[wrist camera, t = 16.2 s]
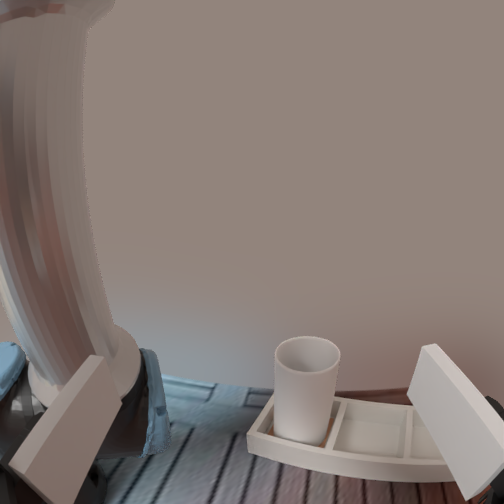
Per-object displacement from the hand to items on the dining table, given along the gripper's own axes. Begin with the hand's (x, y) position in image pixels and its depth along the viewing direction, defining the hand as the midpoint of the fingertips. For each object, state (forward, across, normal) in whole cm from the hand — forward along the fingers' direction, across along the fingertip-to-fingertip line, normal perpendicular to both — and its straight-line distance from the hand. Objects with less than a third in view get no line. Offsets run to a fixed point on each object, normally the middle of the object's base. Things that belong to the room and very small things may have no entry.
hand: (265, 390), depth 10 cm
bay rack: (+16, +16, -30) cm, 37 cm away
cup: (+20, +6, -29) cm, 36 cm away
